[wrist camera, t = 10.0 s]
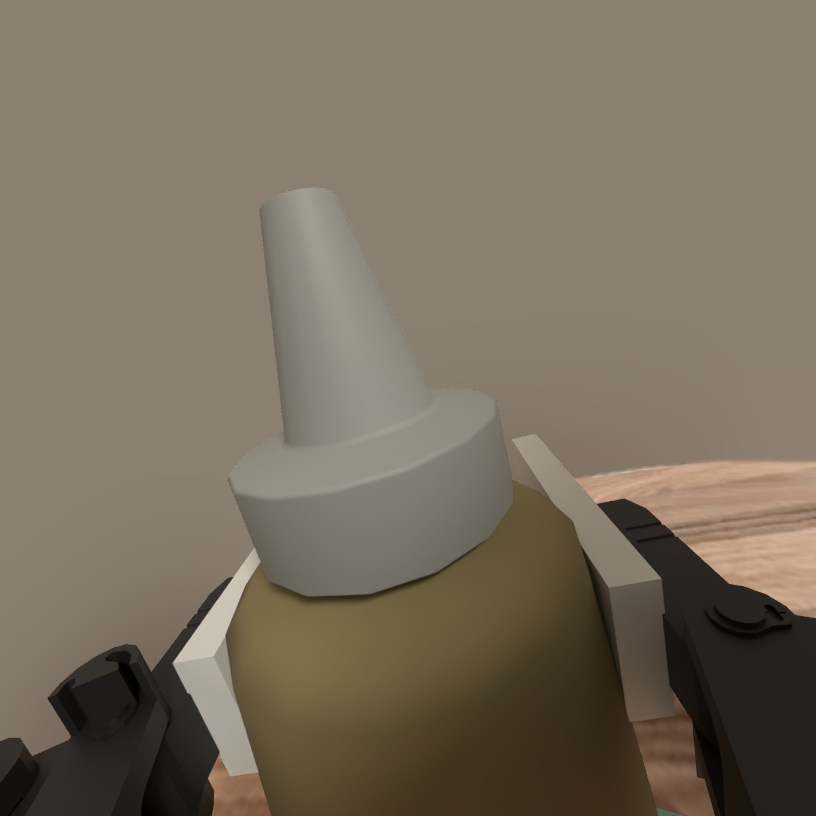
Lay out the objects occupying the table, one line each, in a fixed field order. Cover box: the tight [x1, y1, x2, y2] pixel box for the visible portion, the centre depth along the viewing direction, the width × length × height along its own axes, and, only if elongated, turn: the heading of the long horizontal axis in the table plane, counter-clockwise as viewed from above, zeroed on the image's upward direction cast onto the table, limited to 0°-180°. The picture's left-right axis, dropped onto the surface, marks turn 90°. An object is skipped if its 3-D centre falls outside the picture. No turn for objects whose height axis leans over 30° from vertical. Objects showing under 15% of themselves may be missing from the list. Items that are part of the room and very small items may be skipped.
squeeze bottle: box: [225, 188, 658, 816], centre depth 8 cm, size 8×8×18 cm
